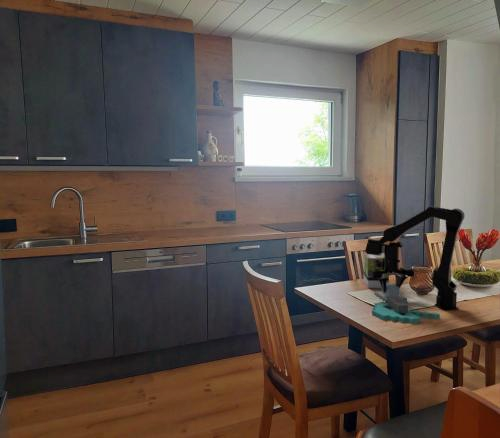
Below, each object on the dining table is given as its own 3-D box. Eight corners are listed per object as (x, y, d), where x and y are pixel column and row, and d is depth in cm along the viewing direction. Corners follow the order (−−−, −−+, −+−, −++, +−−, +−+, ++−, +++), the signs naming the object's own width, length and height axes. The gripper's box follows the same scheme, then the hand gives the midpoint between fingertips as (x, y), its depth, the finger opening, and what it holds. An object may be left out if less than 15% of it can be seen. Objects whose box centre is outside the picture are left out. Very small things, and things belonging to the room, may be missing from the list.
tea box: (362, 279, 201) (363, 251, 199) (383, 280, 199) (383, 251, 198) (367, 288, 186) (367, 257, 184) (389, 288, 184) (390, 257, 183)
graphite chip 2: (402, 309, 151) (402, 301, 151) (408, 312, 147) (408, 304, 147) (392, 309, 150) (392, 302, 150) (398, 313, 147) (398, 305, 146)
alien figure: (401, 304, 164) (361, 310, 157) (401, 299, 164) (361, 305, 157) (439, 320, 145) (396, 328, 138) (439, 314, 145) (396, 321, 138)
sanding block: (393, 294, 176) (394, 281, 175) (407, 303, 164) (407, 289, 163) (374, 295, 175) (374, 282, 174) (386, 304, 163) (386, 290, 163)
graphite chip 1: (397, 305, 155) (397, 298, 155) (402, 308, 152) (403, 301, 151) (387, 306, 155) (388, 298, 154) (393, 309, 151) (393, 301, 151)
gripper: (401, 252, 177) (400, 286, 178) (362, 253, 174) (361, 288, 176) (415, 257, 166) (414, 293, 167) (373, 259, 163) (373, 295, 165)
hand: (390, 292), depth 169 cm, fingers open, 5 cm apart
